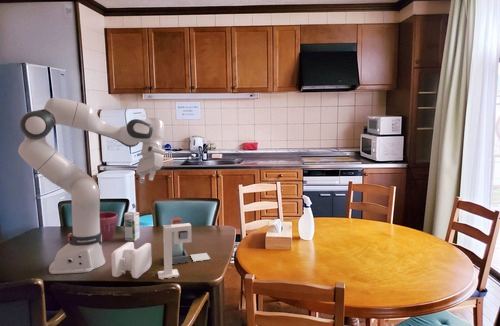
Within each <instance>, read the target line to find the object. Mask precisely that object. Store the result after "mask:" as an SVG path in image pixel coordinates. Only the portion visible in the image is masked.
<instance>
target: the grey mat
mask: <svg viewBox="0 0 500 326" xmlns="http://www.w3.org/2000/svg"><path fill="white" fill-rule="evenodd" d="M190 256H191V257H190ZM189 257H190V259H191V258H192V259H191V260H193V261H192V262H193V263H197V262H196V261H201V262H204V261H203V260H209V259H211V257H210V255H209V254H208V253H207V252H202V253H195V254H193V253H192V254H190V255H189ZM209 261H210V260H209Z"/></svg>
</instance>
